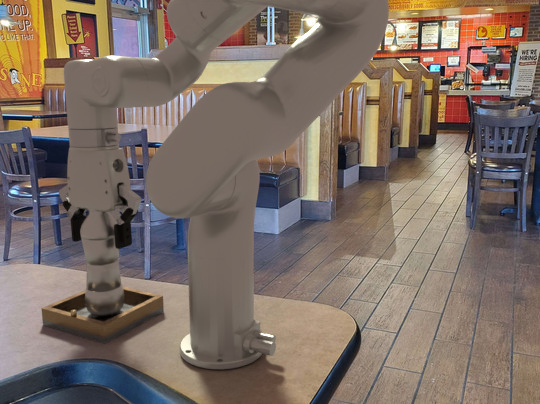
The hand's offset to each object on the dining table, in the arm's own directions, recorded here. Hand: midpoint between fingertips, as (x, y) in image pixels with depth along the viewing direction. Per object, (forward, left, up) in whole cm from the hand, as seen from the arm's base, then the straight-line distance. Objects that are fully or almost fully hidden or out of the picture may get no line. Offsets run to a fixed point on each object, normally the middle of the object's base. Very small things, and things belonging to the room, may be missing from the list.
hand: (101, 243), depth 89 cm
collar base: (0, 0, -13) cm, 13 cm away
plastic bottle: (0, 0, -13) cm, 13 cm away
